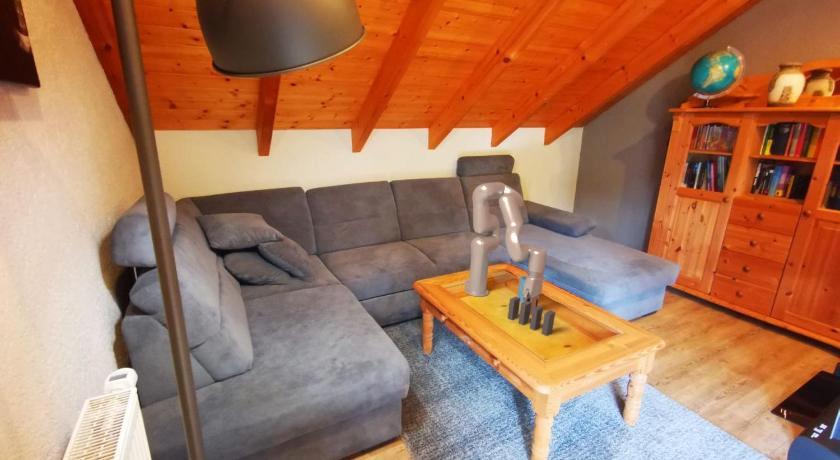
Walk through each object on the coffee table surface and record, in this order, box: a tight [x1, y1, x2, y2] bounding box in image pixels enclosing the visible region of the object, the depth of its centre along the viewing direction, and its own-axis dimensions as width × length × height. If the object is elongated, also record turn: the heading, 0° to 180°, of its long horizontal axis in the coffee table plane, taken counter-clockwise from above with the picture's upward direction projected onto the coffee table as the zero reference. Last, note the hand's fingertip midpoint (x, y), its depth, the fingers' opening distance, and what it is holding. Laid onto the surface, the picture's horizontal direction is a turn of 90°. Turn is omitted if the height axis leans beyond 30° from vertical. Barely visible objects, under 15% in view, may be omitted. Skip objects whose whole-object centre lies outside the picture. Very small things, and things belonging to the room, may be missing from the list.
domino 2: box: [517, 301, 531, 326], centre depth 185 cm, size 2×5×10 cm, turn 133°
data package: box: [517, 275, 527, 304], centre depth 210 cm, size 12×4×12 cm, turn 177°
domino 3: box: [528, 295, 537, 315], centre depth 196 cm, size 2×5×10 cm, turn 134°
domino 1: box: [507, 296, 521, 321], centre depth 189 cm, size 2×5×10 cm, turn 133°
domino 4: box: [529, 304, 544, 331], centre depth 181 cm, size 2×5×10 cm, turn 133°
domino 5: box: [541, 309, 556, 337], centre depth 177 cm, size 2×5×10 cm, turn 133°
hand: (530, 308), depth 197 cm, fingers open, 5 cm apart
